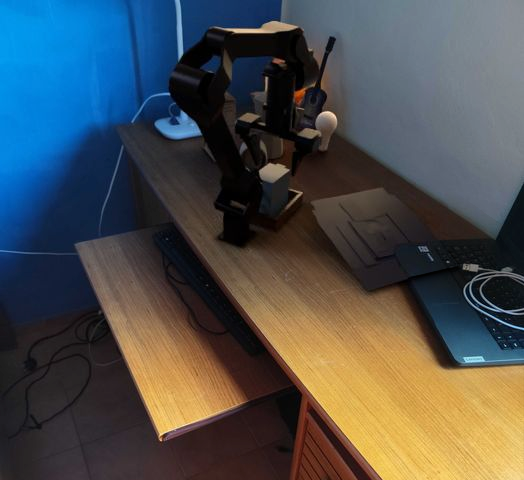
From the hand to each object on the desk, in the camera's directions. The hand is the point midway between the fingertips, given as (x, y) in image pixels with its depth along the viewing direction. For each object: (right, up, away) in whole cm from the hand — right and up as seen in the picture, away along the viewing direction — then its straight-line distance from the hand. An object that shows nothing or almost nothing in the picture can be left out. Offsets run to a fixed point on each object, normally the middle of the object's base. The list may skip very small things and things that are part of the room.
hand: (275, 170), depth 106 cm
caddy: (0, -7, +8) cm, 10 cm away
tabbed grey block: (-1, -8, +6) cm, 10 cm away
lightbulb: (+15, +18, +32) cm, 39 cm away
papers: (+23, -16, +1) cm, 28 cm away
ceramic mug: (-7, +9, +22) cm, 25 cm away
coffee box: (-15, +15, +27) cm, 35 cm away
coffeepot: (0, +16, +29) cm, 33 cm away
